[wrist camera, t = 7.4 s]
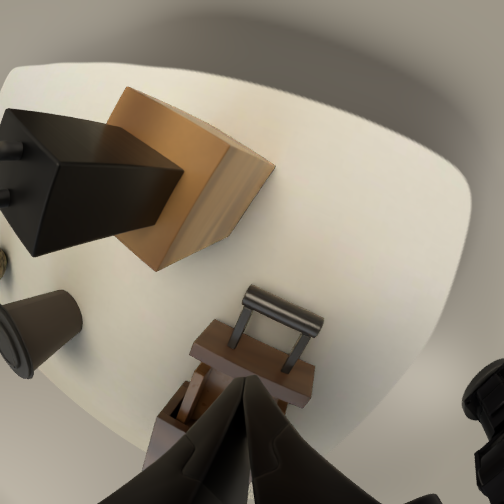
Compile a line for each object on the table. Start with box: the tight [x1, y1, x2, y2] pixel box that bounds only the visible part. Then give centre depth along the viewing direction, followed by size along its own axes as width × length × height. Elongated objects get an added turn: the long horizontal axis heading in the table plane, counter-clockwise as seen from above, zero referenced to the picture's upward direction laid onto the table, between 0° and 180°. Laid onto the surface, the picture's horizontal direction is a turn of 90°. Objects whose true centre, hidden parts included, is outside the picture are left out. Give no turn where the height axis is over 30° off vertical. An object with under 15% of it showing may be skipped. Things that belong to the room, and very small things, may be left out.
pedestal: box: [106, 87, 275, 272], centre depth 16 cm, size 6×6×10 cm
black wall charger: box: [0, 108, 184, 257], centre depth 7 cm, size 4×3×9 cm, turn 56°
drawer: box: [176, 284, 324, 427], centre depth 20 cm, size 16×8×4 cm, turn 158°
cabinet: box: [142, 381, 252, 484], centre depth 23 cm, size 13×10×6 cm
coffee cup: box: [0, 290, 82, 379], centre depth 23 cm, size 8×8×10 cm
